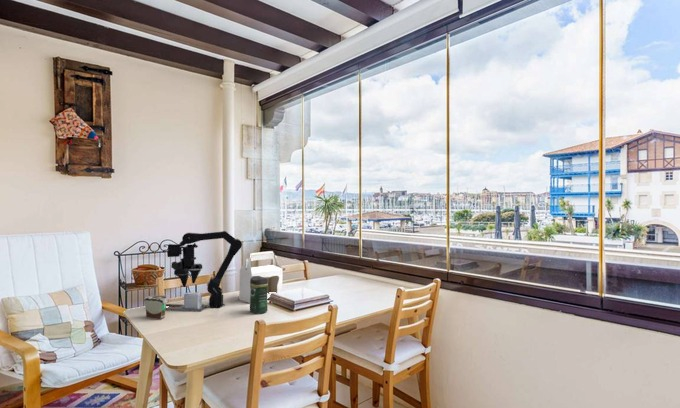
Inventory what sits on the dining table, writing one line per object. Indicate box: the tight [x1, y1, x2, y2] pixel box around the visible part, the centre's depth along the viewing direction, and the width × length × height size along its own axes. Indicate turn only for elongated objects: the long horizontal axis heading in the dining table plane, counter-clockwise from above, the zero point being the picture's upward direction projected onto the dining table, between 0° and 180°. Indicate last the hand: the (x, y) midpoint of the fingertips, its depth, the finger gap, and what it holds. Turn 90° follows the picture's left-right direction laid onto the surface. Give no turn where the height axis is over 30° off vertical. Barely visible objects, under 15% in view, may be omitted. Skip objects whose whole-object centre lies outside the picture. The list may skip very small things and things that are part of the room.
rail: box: [165, 303, 208, 313], centre depth 195 cm, size 24×8×1 cm, turn 85°
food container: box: [143, 294, 169, 321], centre depth 180 cm, size 12×6×10 cm, turn 71°
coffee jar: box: [249, 276, 268, 315], centre depth 191 cm, size 10×8×19 cm
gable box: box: [238, 250, 284, 304], centre depth 219 cm, size 22×13×28 cm, turn 136°
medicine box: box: [183, 291, 203, 309], centre depth 194 cm, size 8×4×9 cm, turn 84°
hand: (189, 285), depth 196 cm, fingers open, 9 cm apart
